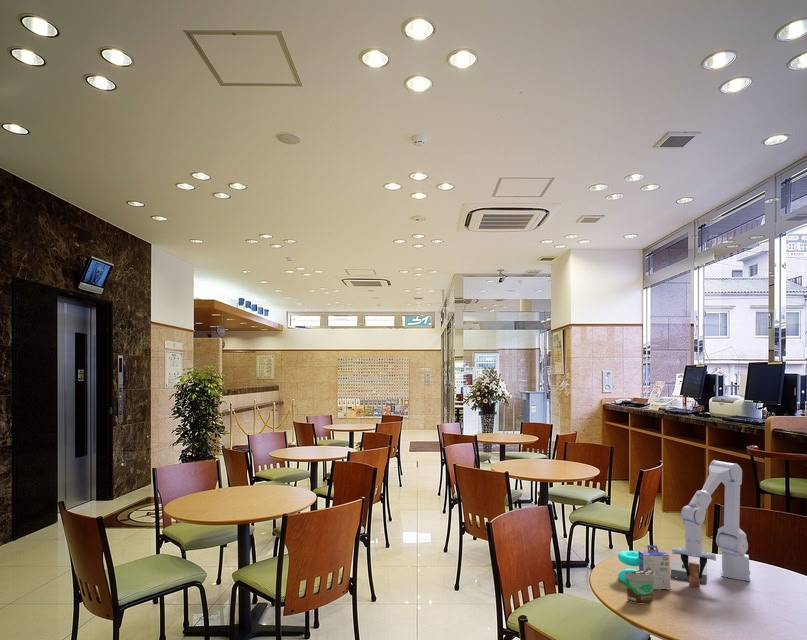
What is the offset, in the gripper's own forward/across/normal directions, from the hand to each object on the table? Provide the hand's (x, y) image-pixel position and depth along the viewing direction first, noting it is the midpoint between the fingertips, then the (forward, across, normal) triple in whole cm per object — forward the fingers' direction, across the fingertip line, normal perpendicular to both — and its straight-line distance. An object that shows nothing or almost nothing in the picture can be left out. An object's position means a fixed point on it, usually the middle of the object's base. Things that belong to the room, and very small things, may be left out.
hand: (694, 576), depth 211 cm
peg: (+3, 0, 0) cm, 3 cm away
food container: (+3, -15, -25) cm, 29 cm away
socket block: (+3, -2, +11) cm, 12 cm away
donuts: (+3, -21, -7) cm, 22 cm away
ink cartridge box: (+3, -13, -9) cm, 16 cm away
